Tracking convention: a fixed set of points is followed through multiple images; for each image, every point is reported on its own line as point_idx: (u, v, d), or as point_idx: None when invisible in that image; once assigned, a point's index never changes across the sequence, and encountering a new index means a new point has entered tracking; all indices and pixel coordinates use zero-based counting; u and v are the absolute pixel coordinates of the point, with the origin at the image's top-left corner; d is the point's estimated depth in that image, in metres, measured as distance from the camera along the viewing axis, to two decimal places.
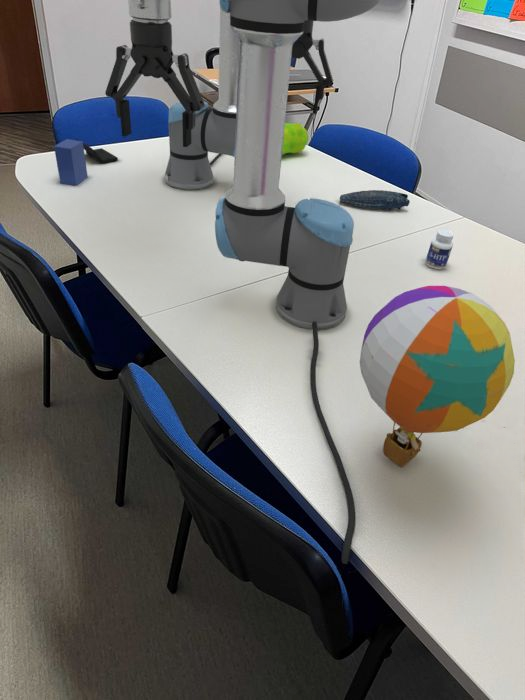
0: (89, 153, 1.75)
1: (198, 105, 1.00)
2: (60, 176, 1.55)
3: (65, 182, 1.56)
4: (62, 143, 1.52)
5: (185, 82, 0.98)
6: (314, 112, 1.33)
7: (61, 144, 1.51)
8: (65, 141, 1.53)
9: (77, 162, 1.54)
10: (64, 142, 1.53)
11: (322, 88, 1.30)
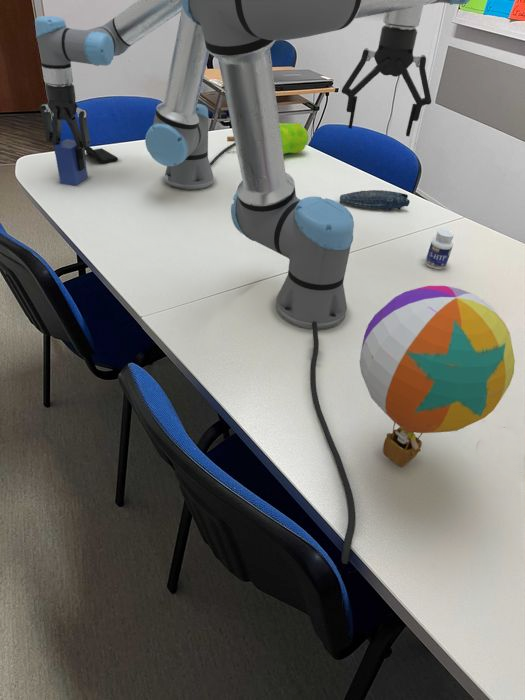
0: (89, 153, 1.75)
1: None
2: (60, 176, 1.55)
3: (65, 182, 1.56)
4: (62, 143, 1.52)
5: None
6: (407, 134, 1.21)
7: (61, 144, 1.51)
8: (65, 141, 1.53)
9: None
10: (64, 142, 1.53)
11: (419, 109, 1.18)
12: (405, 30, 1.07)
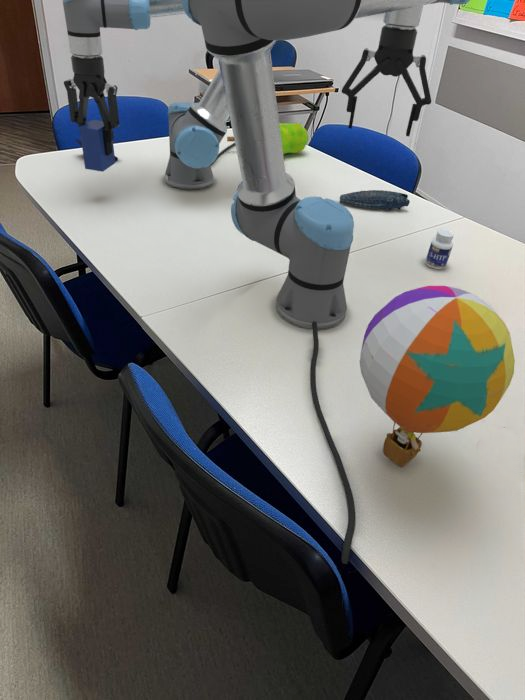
0: None
1: None
2: (85, 161, 1.39)
3: (91, 168, 1.40)
4: (88, 124, 1.36)
5: None
6: (407, 134, 1.21)
7: (87, 125, 1.35)
8: (91, 122, 1.38)
9: None
10: (90, 122, 1.37)
11: (419, 109, 1.18)
12: (405, 30, 1.07)
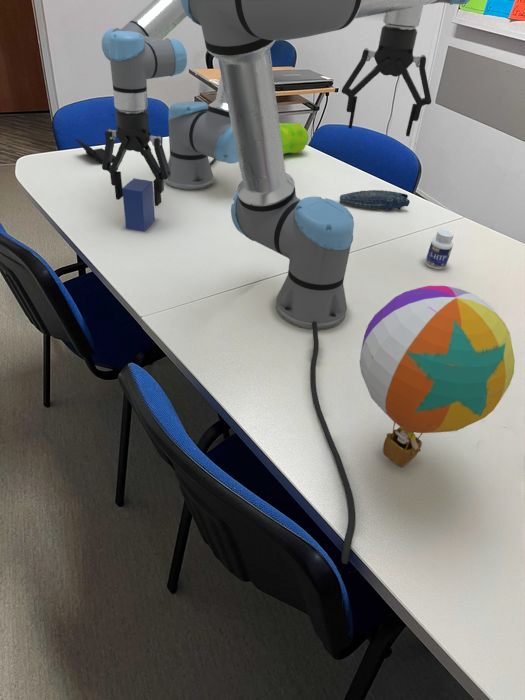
0: (89, 153, 1.75)
1: None
2: (126, 221, 1.35)
3: (132, 227, 1.36)
4: (130, 184, 1.32)
5: None
6: (407, 134, 1.21)
7: (129, 185, 1.31)
8: (133, 181, 1.33)
9: (146, 205, 1.34)
10: (132, 182, 1.33)
11: (419, 109, 1.18)
12: (405, 30, 1.07)
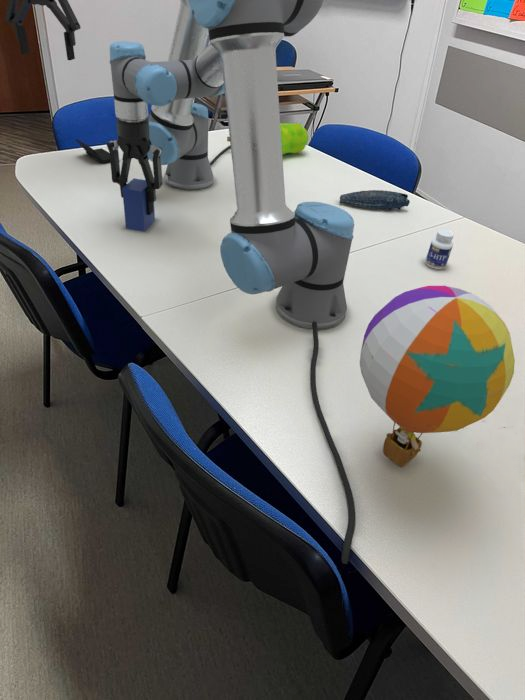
0: (89, 153, 1.75)
1: None
2: (126, 221, 1.35)
3: (132, 227, 1.36)
4: (130, 184, 1.32)
5: None
6: (148, 213, 1.35)
7: (129, 185, 1.31)
8: (133, 181, 1.33)
9: None
10: (131, 182, 1.33)
11: (152, 192, 1.32)
12: (131, 123, 1.20)
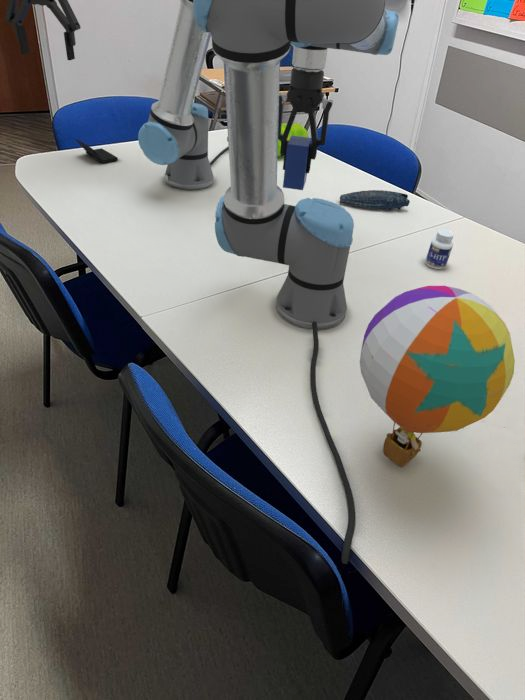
0: (89, 153, 1.75)
1: None
2: (285, 179, 1.31)
3: (289, 186, 1.32)
4: (292, 140, 1.28)
5: None
6: (307, 171, 1.31)
7: (293, 141, 1.27)
8: (293, 138, 1.30)
9: None
10: (292, 139, 1.29)
11: (315, 149, 1.28)
12: (311, 73, 1.16)
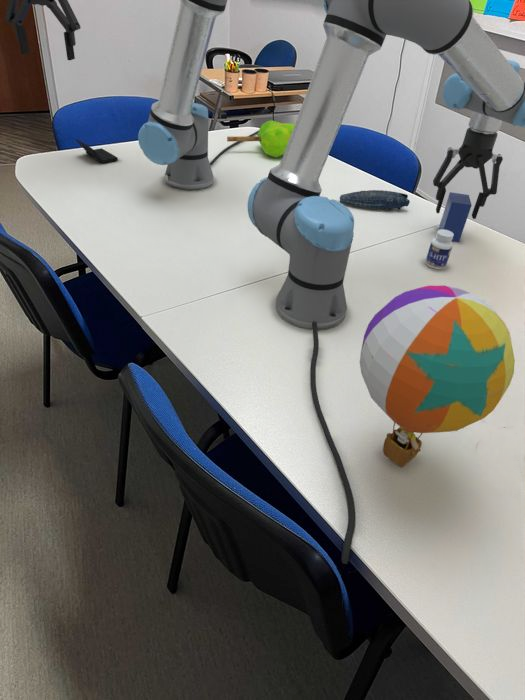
0: (89, 153, 1.75)
1: None
2: None
3: None
4: (454, 198, 1.41)
5: None
6: (474, 217, 1.42)
7: (455, 199, 1.40)
8: (453, 195, 1.43)
9: None
10: (453, 196, 1.42)
11: (485, 197, 1.39)
12: (488, 135, 1.28)
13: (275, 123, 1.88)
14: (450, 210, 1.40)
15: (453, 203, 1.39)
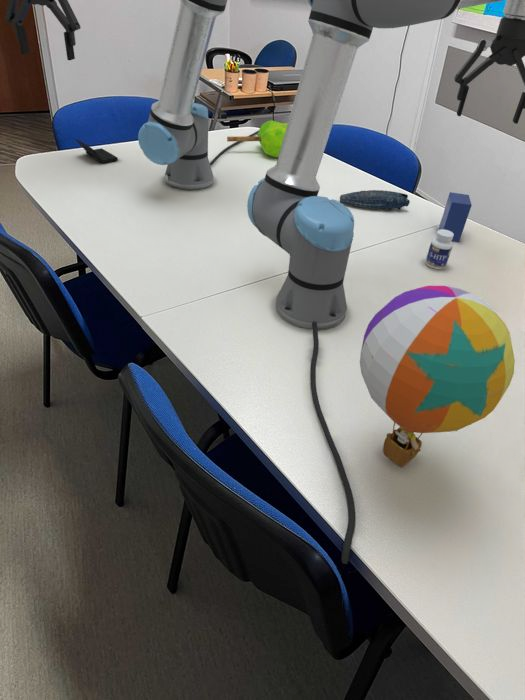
0: (89, 153, 1.75)
1: None
2: None
3: None
4: (454, 198, 1.41)
5: None
6: (516, 122, 1.26)
7: (455, 199, 1.40)
8: (453, 195, 1.43)
9: None
10: (453, 196, 1.42)
11: None
12: None
13: (275, 123, 1.88)
14: (450, 210, 1.40)
15: (453, 203, 1.39)
